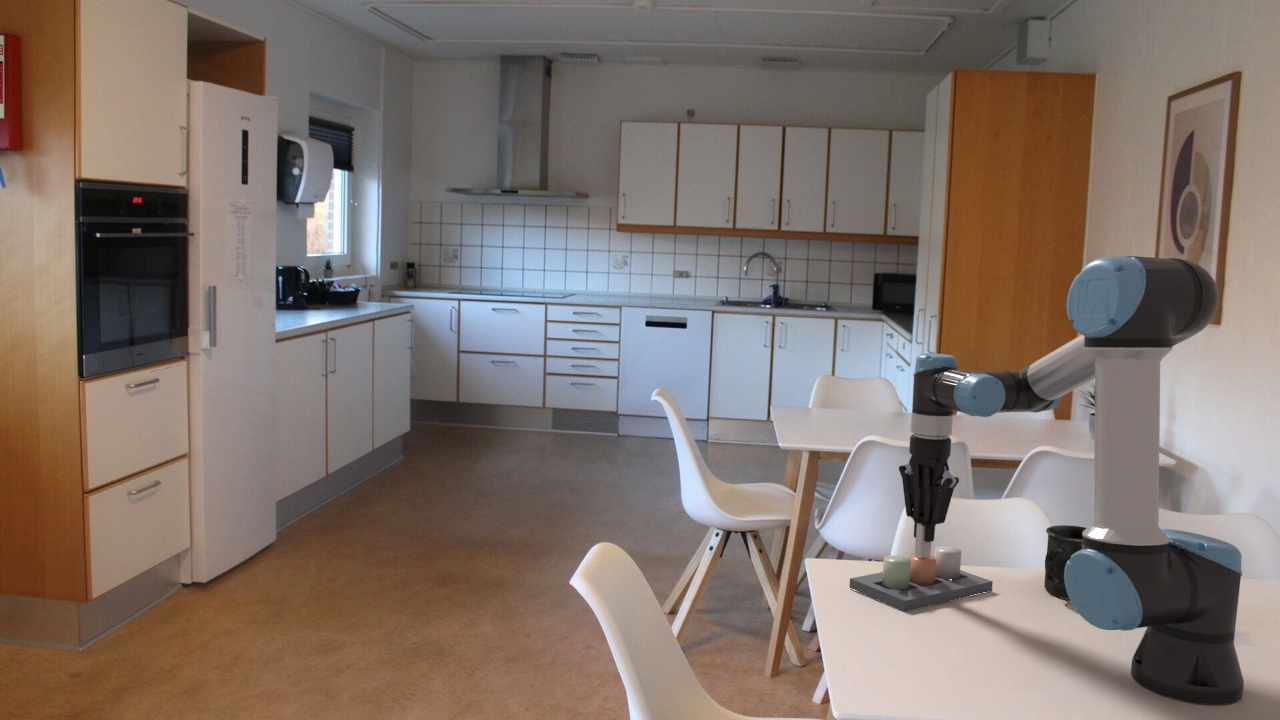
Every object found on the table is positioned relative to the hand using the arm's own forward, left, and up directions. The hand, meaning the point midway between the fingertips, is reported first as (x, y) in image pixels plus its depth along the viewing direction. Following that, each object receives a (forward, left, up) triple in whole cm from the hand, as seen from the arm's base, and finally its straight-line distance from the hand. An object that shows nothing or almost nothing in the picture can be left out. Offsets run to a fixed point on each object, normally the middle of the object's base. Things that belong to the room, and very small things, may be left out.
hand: (922, 556), depth 196 cm
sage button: (0, +7, -5) cm, 8 cm away
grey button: (0, -7, -5) cm, 8 cm away
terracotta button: (0, 0, -5) cm, 5 cm away
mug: (-15, -24, -7) cm, 29 cm away
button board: (0, 0, -7) cm, 7 cm away
